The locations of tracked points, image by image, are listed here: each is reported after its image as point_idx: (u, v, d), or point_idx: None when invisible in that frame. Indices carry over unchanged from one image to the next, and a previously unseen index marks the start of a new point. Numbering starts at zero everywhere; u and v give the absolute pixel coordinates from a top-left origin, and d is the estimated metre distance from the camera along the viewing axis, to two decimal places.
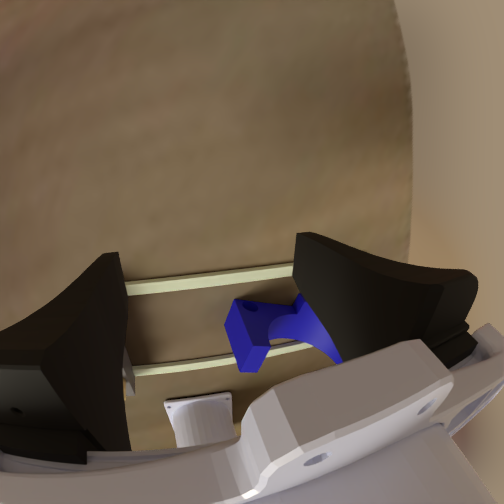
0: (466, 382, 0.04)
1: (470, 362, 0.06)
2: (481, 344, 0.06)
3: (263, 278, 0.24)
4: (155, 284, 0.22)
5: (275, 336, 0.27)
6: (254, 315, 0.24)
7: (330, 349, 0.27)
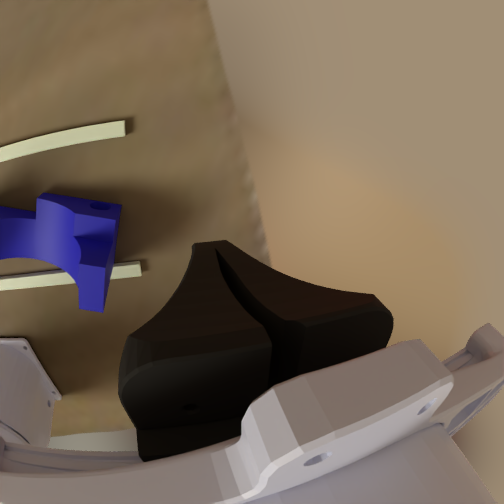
0: (466, 382, 0.04)
1: (470, 362, 0.06)
2: (481, 344, 0.06)
3: None
4: None
5: (19, 252, 0.16)
6: None
7: (77, 276, 0.16)
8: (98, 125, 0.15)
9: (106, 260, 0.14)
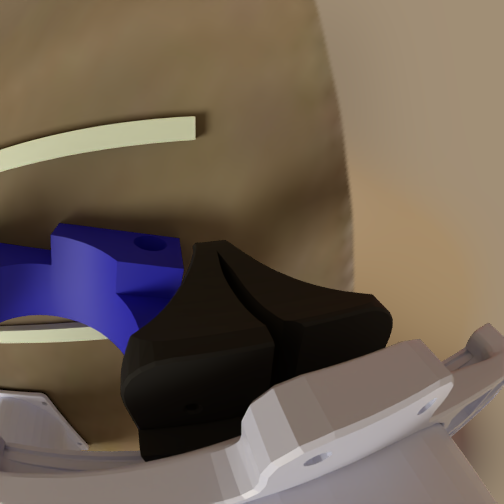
0: (466, 382, 0.04)
1: (470, 362, 0.06)
2: (481, 344, 0.06)
3: None
4: None
5: (32, 309, 0.11)
6: None
7: None
8: (154, 121, 0.10)
9: None
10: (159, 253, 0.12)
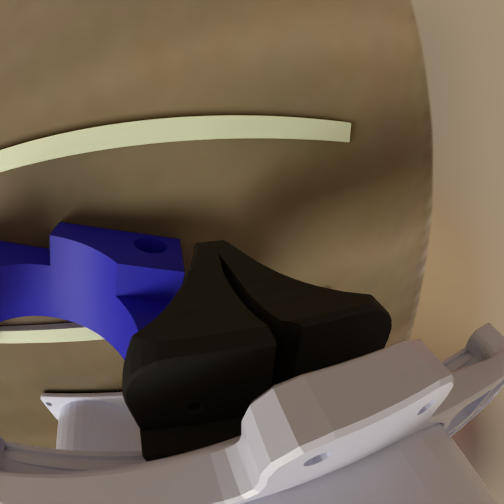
0: (466, 382, 0.04)
1: (470, 362, 0.06)
2: (481, 344, 0.06)
3: (130, 142, 0.10)
4: None
5: (30, 310, 0.11)
6: None
7: None
8: (321, 121, 0.12)
9: None
10: (160, 255, 0.12)
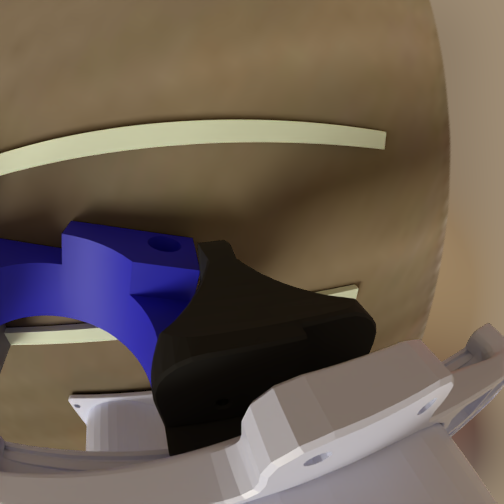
0: (466, 382, 0.04)
1: (470, 362, 0.06)
2: (481, 344, 0.06)
3: (193, 141, 0.11)
4: (5, 157, 0.09)
5: (40, 309, 0.11)
6: None
7: (140, 351, 0.11)
8: (362, 129, 0.13)
9: None
10: (174, 254, 0.12)
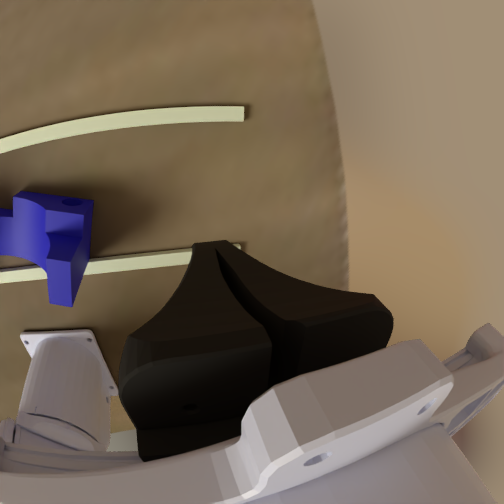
0: (466, 382, 0.04)
1: (470, 362, 0.06)
2: (481, 344, 0.06)
3: (87, 131, 0.15)
4: None
5: None
6: None
7: None
8: (218, 107, 0.17)
9: (72, 254, 0.14)
10: (74, 207, 0.16)
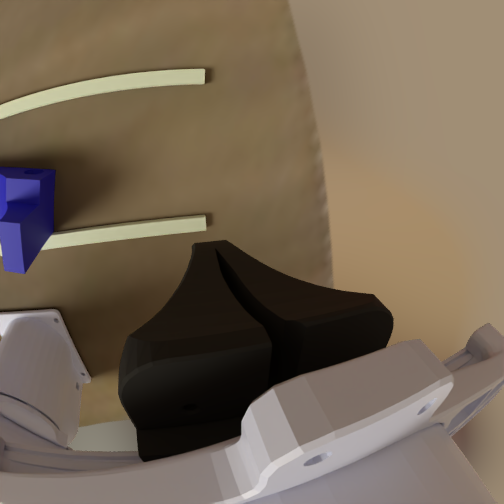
0: (466, 382, 0.04)
1: (470, 362, 0.06)
2: (481, 344, 0.06)
3: (50, 101, 0.13)
4: None
5: None
6: None
7: None
8: (177, 70, 0.15)
9: (24, 218, 0.12)
10: (33, 175, 0.14)
